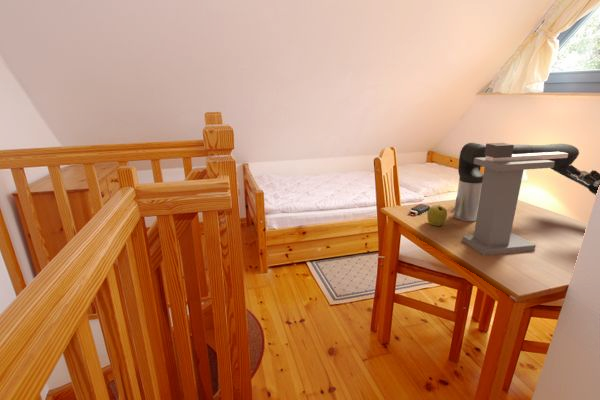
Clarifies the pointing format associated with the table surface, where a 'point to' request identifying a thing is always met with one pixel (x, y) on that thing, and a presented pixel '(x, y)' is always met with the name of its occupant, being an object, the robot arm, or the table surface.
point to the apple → (436, 215)
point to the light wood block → (504, 153)
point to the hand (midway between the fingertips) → (579, 169)
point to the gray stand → (500, 206)
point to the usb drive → (419, 209)
